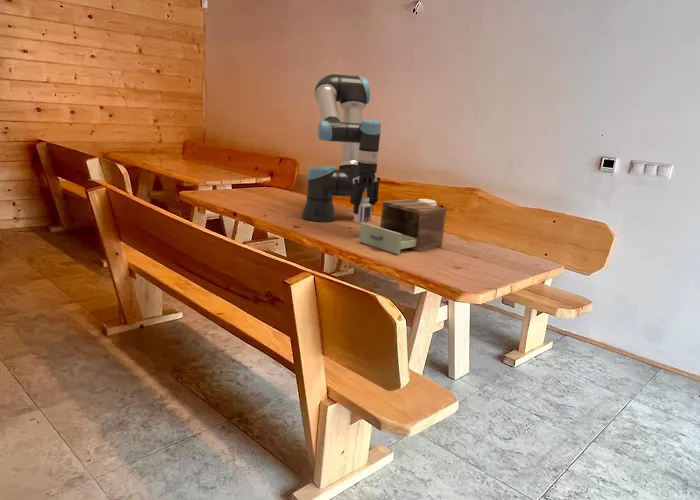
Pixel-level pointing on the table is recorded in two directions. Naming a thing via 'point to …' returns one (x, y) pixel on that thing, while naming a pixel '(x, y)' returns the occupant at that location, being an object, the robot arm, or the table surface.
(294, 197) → the table surface
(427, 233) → the housing
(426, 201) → the coffee cup
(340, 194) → the robot arm
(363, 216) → the pill bottle
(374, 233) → the drawer
